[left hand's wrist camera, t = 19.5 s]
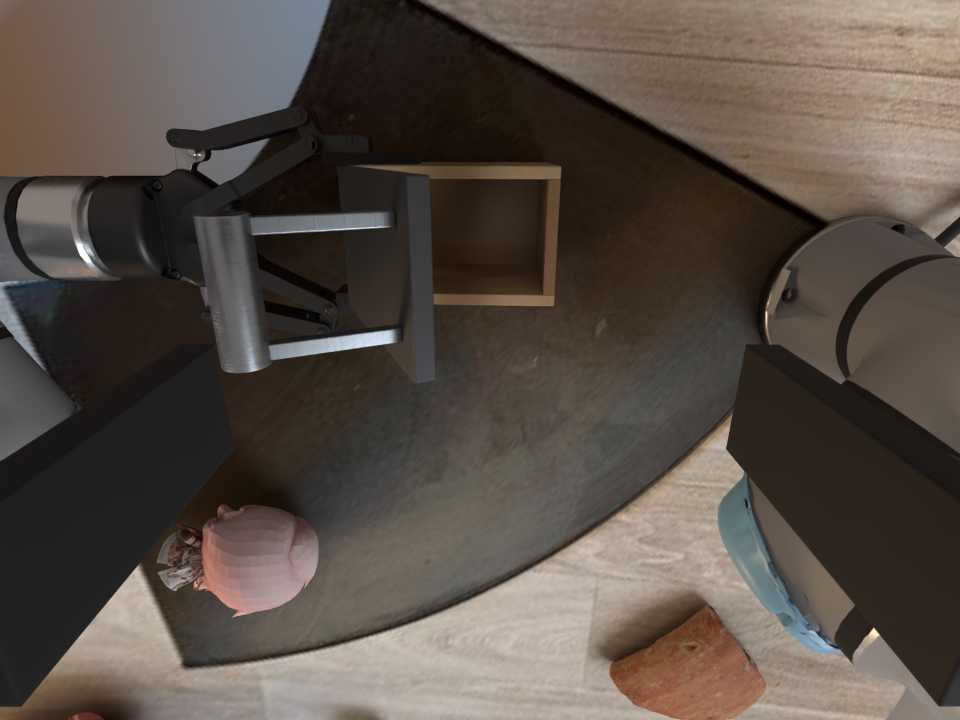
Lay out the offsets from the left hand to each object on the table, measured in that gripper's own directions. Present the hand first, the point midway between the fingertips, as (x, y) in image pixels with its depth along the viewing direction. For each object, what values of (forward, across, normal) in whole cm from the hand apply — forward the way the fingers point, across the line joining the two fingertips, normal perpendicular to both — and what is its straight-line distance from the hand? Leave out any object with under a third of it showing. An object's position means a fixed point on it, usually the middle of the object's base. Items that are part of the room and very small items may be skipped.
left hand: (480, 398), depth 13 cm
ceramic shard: (+36, +25, -53) cm, 69 cm away
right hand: (+29, -4, 0) cm, 29 cm away
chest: (+36, -1, 0) cm, 36 cm away
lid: (+18, -5, 0) cm, 19 cm away
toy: (+36, -23, -33) cm, 54 cm away
